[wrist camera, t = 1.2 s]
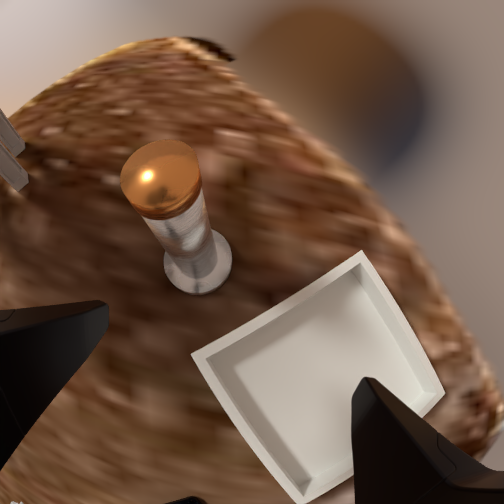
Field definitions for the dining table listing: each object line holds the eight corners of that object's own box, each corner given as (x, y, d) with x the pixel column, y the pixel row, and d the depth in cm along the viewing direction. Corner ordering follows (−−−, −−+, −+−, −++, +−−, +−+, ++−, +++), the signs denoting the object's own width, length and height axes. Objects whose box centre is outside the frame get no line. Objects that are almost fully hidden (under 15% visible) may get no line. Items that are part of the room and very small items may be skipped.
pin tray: (293, 491, 17) (299, 506, 14) (197, 353, 22) (190, 354, 19) (427, 391, 20) (445, 393, 17) (349, 261, 25) (361, 249, 22)
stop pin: (184, 307, 23) (119, 253, 10) (156, 250, 25) (90, 160, 12) (244, 273, 24) (247, 185, 11) (212, 220, 26) (190, 110, 13)
